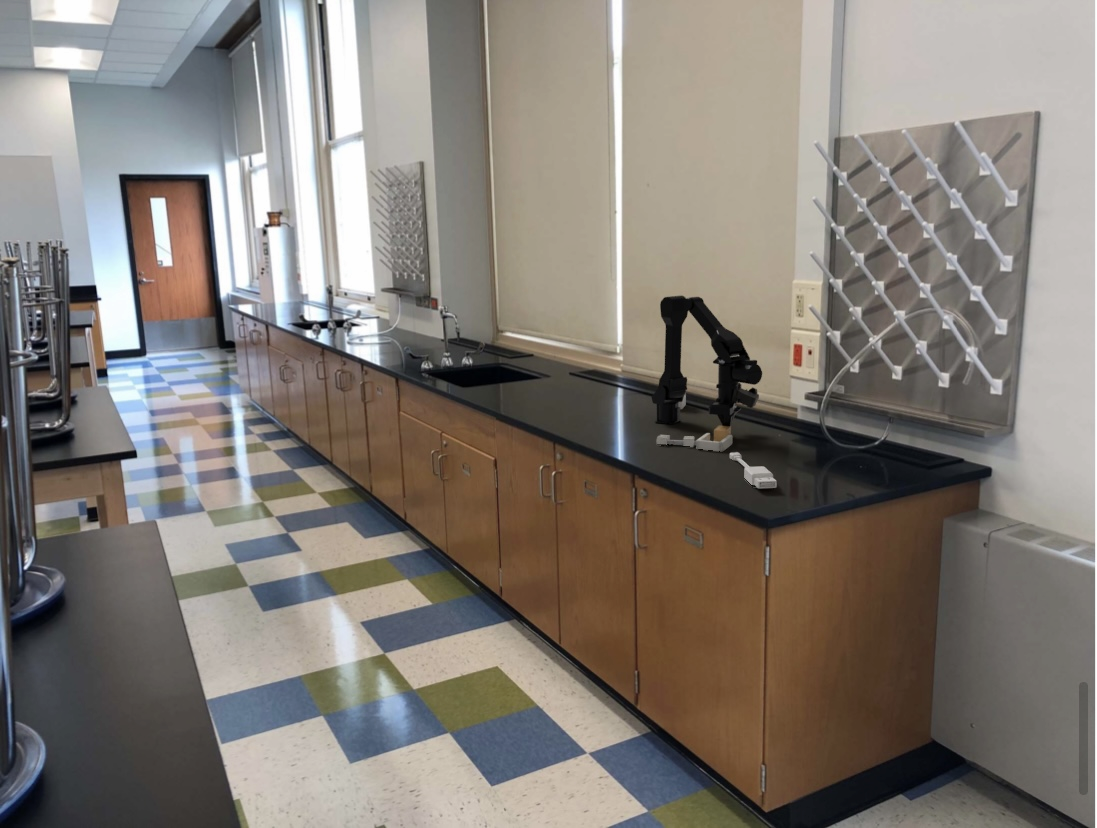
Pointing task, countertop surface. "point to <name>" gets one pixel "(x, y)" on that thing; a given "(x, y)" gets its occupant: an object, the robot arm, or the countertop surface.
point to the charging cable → (756, 474)
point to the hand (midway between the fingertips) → (727, 432)
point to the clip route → (666, 440)
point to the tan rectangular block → (721, 433)
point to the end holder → (713, 443)
